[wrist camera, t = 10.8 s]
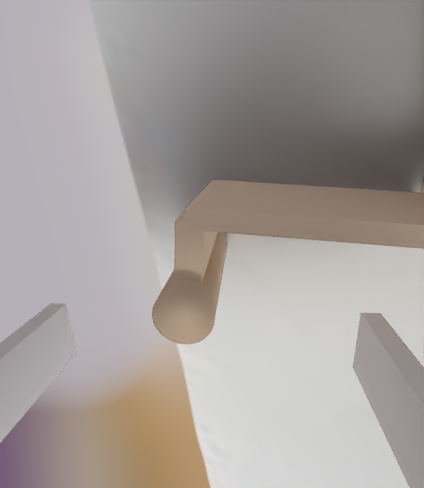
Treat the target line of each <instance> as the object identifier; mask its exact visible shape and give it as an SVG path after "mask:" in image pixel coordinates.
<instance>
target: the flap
mask: <svg viewBox="0 0 424 488" xmlns="http://www.w3.org/2000/svg"><path fill="white" fill-rule="evenodd" d="M225 233H236V234H248V235H261V236H273V237H286V238H298V239H311V240H324V241H336V242H349V243H361V244H374V245H386V246H399V247H411V248H424V194H423V193H419V192H417V193H415V192H403V191H388V190H372V189H356V188H341V187H325V186H309V185H294V184H278V183H262V182H247V181H231V180H215V179H213V180H212V181H211V182H210V183H209V184H208V185H207V186H206V187H205V188H204V189H203V190H202V191H201V192H200V193H199V194H198V195H197V196H196V197H195V198H194V199H193V200H192V201H191V202H190V203H189V204H188V206H187V207H186V208H185V211H184V212H183V213H182V215H181V216H180V217H179V218H178V219H177V220H176V221H175V265H174V271H173V273H172V274H171V276H170V278H169V280H168V281H167V283H166V285H165V286H164V288H163V290H162V292H161V294H160V295H159V297H158V299H157V301H156V302H155V304H154V307H153V311H152V317H153V318H152V319H153V322H154V325H155V327H156V328H157V330H158V331H159V332H160V333H161V334H162V335H163V336H164V337H165V338H167V339H169V340H170V341H173V342H175V343H179V344H193V343H197V342H199V341H201V340H203V339H205V338H206V337H207V336H208V335H209V334H210V332H211V330H212V328H213V325H214V320H215V314H216V308H217V302H218V296H219V290H220V285H221V279H222V273H223V267H224V261H225V255H226V249H227V237H226V235H225Z"/></svg>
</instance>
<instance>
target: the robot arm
mask: <svg viewBox="0 0 424 488" xmlns="http://www.w3.org/2000/svg"><path fill="white" fill-rule="evenodd" d="M76 353H77V349H76V345H75V341H74V336H73V332H72V328H71V324H70V320H69V316H68V311H67V307H66V304H53V303H51V304H50V305H48V306H47V307H46V308H45V309H43V310H42V311H41V312H39V313H38V314H37V315H36V316H34V317H33V318H32V319H30V320H29V321H28V322H27V323H26V324H24V325H23V326H22V327H20V328H19V329H18V330H16V331H15V332H14V333H12V334H11V335H10V336H9V337H7V338H6V339H5V340H4V341H2V342H1V343H0V443H1V441H2V440H3V439H4V438H5V437H6V436H7V434H8V433H9V432H10V431H11V430H12V428H13V427H14V426H15V425H16V424H17V423H18V421H19V420H20V419H21V418H22V417H23V415H24V414H25V413H26V412H27V410H28V409H29V408H30V407H31V406H32V405H33V404H34V402H35V401H36V400H37V399H38V398H39V397H40V395H41V394H42V393H43V392H44V391H45V390H46V388H47V387H48V386H49V385H50V384H51V382H52V381H53V380H54V379H55V378H56V377H57V375H58V374H59V373H60V372H61V370H62V369H63V368H64V367H65V366H66V365H67V364H68V362H69V361H70V360H71V359H72V358H73V356H74V355H75V354H76ZM353 368H354V371H355V373H356V375H357V377H358V379H359V381H360V383H361V385H362V388H363V390H364V392H365V394H366V396H367V398H368V400H369V402H370V404H371V407H372V409H373V411H374V413H375V415H376V417H377V419H378V421H379V423H380V426H381V428H382V430H383V432H384V434H385V436H386V438H387V440H388V443H389V445H390V447H391V449H392V451H393V453H394V455H395V457H396V459H397V462H398V464H399V466H400V468H401V470H402V472H403V474H404V476H405V479H406V481H407V483H408V485H409V487H410V488H424V367H423V366H422V365H421V364H420V362H419V361H418V360H417V359H416V357H415V356H414V355H413V353H412V352H411V351H410V350H409V348H408V347H407V346H406V345H405V343H404V342H403V341H402V340H401V338H400V337H399V336H398V335H397V333H396V332H395V331H394V330H393V328H392V327H391V326H390V325H389V323H388V322H387V321H386V320H385V318H384V317H383V316H382V314H381V313H361V314H360V321H359V328H358V335H357V342H356V349H355V356H354V363H353Z"/></svg>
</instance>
